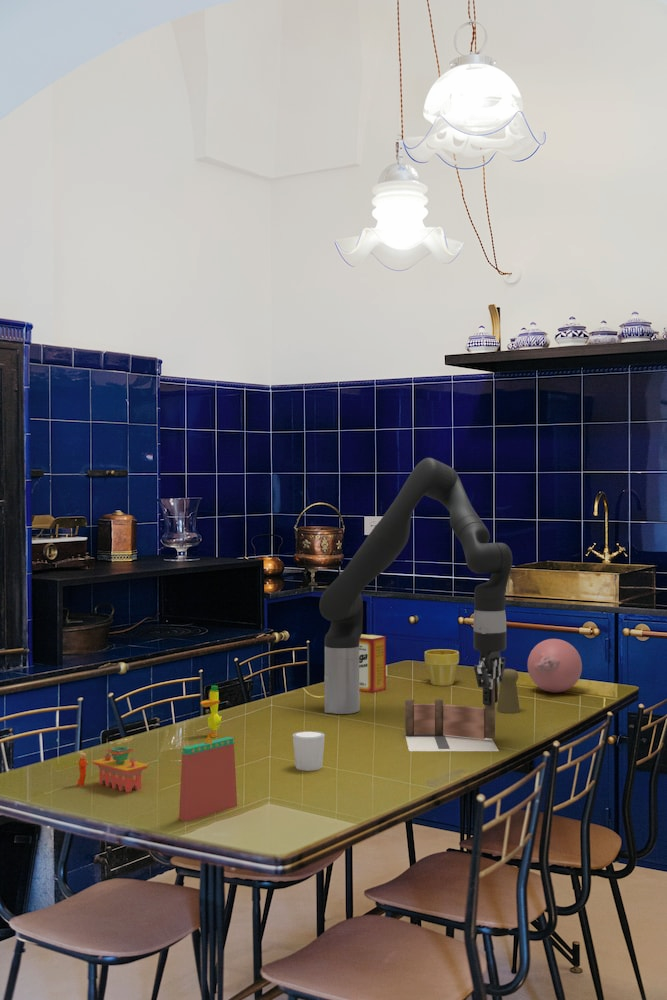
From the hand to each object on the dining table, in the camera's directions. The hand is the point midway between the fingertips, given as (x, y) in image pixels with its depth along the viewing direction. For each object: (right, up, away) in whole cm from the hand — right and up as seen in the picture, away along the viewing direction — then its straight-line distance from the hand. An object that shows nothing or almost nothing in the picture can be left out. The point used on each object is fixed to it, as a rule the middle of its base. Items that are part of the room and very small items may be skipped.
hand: (490, 703), depth 248 cm
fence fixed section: (-15, -9, +6) cm, 18 cm away
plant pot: (-4, -9, +75) cm, 75 cm away
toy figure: (-65, -9, +7) cm, 66 cm away
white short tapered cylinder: (-42, -10, -21) cm, 48 cm away
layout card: (-9, -9, 0) cm, 13 cm away
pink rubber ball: (+26, -9, +59) cm, 65 cm away
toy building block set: (-72, -10, -42) cm, 83 cm away
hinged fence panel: (-5, -8, +2) cm, 10 cm away
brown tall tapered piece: (+10, -9, +35) cm, 38 cm away
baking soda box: (-27, -9, +66) cm, 72 cm away
